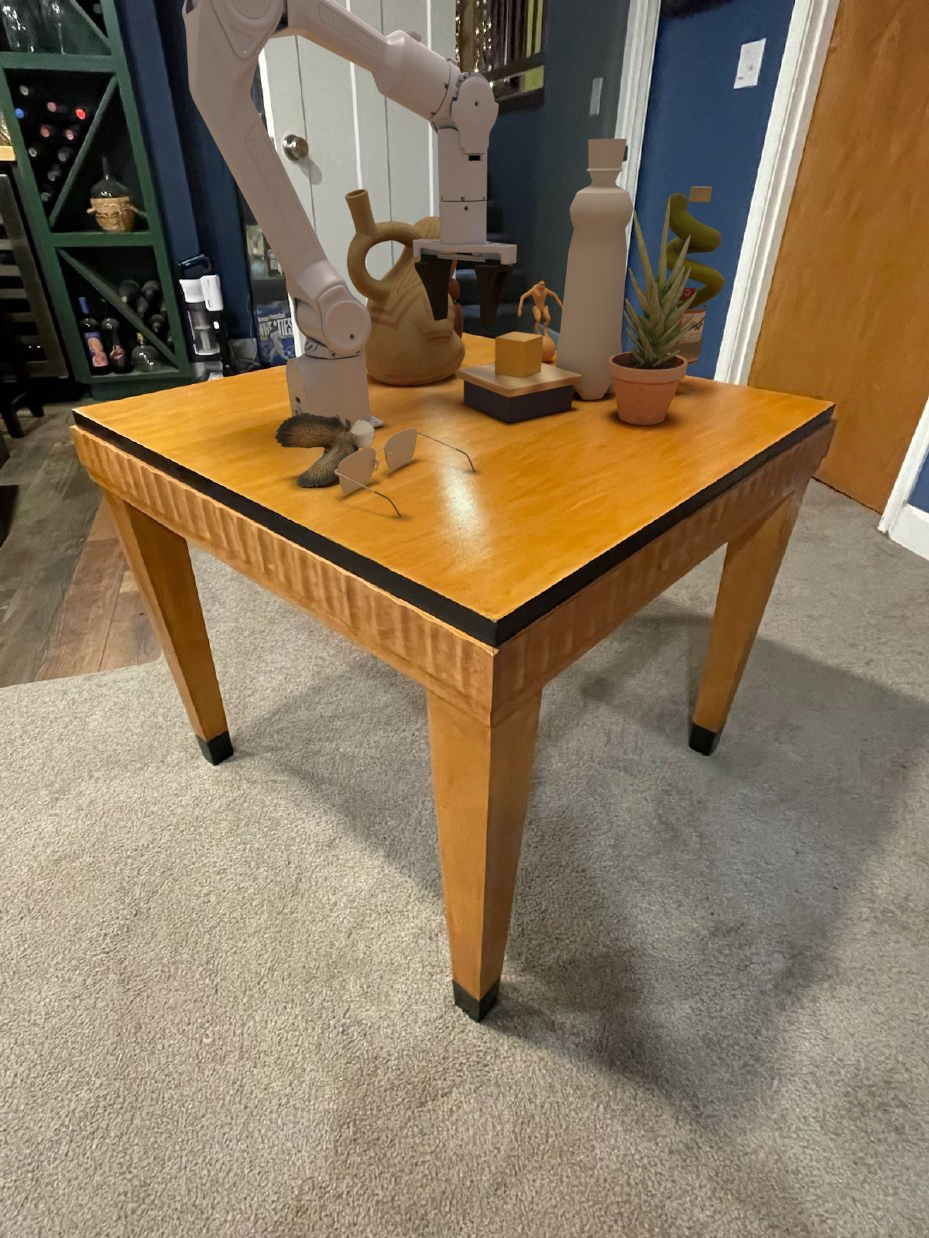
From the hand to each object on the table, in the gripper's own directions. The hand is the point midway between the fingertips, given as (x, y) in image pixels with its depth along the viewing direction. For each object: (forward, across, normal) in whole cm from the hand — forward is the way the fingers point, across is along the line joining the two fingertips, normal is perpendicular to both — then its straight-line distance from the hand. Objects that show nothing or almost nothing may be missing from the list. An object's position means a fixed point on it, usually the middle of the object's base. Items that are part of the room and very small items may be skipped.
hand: (463, 322), depth 90 cm
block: (+6, -7, -3) cm, 9 cm away
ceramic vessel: (+11, +16, -7) cm, 20 cm away
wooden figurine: (+11, +23, -27) cm, 37 cm away
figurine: (+11, +4, -27) cm, 29 cm away
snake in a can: (+11, -20, -22) cm, 32 cm away
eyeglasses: (+11, -13, +27) cm, 32 cm away
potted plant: (+11, -23, -8) cm, 26 cm away
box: (+10, -7, -3) cm, 13 cm away
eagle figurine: (+11, -3, +29) cm, 31 cm away
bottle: (+11, -11, -14) cm, 21 cm away
